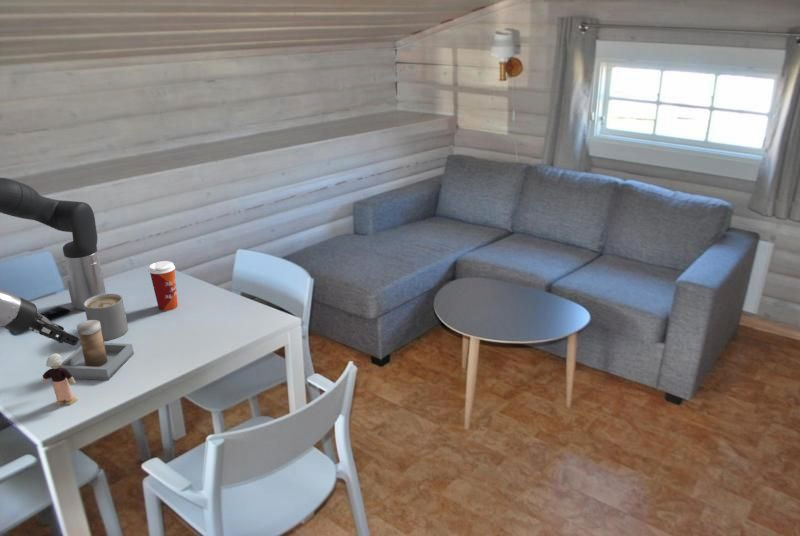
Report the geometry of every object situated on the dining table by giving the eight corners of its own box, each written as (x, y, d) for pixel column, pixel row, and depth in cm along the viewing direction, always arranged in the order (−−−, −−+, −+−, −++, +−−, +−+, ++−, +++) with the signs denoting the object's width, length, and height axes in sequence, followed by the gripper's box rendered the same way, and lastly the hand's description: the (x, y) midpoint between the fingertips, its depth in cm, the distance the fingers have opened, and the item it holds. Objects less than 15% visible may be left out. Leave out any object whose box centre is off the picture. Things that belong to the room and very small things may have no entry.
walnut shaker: (80, 367, 164) (72, 329, 159) (92, 357, 169) (84, 319, 164) (101, 368, 163) (92, 330, 159) (111, 357, 168) (104, 320, 164)
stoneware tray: (59, 377, 161) (57, 367, 160) (88, 351, 173) (85, 342, 172) (108, 379, 160) (106, 369, 158) (133, 353, 171) (132, 344, 170)
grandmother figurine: (84, 395, 153) (73, 349, 148) (79, 404, 150) (67, 357, 145) (50, 398, 152) (38, 351, 147) (44, 407, 149) (31, 360, 144)
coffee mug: (124, 338, 180) (118, 306, 176) (86, 342, 178) (79, 309, 174) (133, 317, 192) (127, 287, 188) (98, 321, 190) (91, 290, 186)
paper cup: (176, 312, 195) (169, 269, 190) (151, 312, 195) (143, 269, 190) (184, 301, 202) (178, 260, 197) (160, 301, 202) (153, 260, 197)
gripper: (-14, 316, 149) (48, 341, 162) (9, 334, 141) (73, 359, 153) (5, 288, 151) (65, 315, 163) (29, 304, 142) (91, 332, 155)
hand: (69, 336), depth 158 cm, fingers open, 8 cm apart
